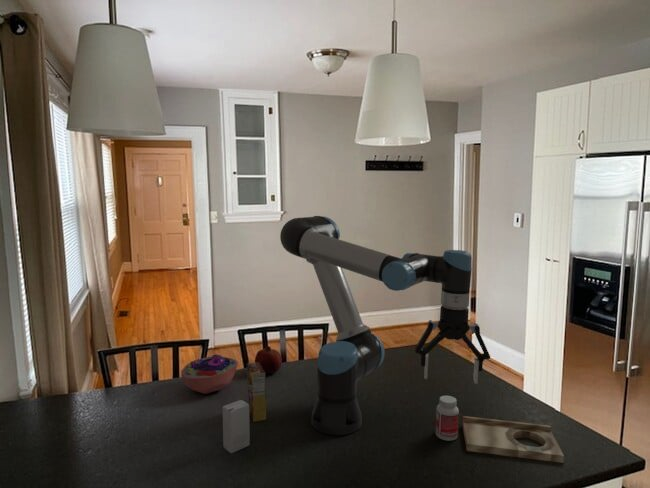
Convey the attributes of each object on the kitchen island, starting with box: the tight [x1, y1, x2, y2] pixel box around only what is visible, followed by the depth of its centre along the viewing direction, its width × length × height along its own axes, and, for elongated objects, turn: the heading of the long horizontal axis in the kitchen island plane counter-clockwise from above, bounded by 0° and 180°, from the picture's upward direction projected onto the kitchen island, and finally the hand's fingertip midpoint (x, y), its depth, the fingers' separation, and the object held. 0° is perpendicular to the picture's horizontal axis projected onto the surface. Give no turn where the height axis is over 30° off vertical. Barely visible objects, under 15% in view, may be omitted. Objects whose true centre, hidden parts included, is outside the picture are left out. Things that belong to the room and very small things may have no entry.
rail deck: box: [462, 415, 565, 464], centre depth 126 cm, size 24×13×3 cm, turn 78°
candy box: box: [246, 361, 267, 423], centre depth 139 cm, size 9×4×15 cm, turn 20°
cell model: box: [180, 354, 239, 395], centre depth 156 cm, size 17×20×11 cm
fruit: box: [254, 345, 283, 375], centre depth 171 cm, size 11×10×10 cm
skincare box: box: [222, 399, 251, 454], centre depth 122 cm, size 6×4×12 cm
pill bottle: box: [435, 395, 460, 442], centre depth 129 cm, size 6×6×11 cm
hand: (450, 379), depth 128 cm, fingers open, 13 cm apart
